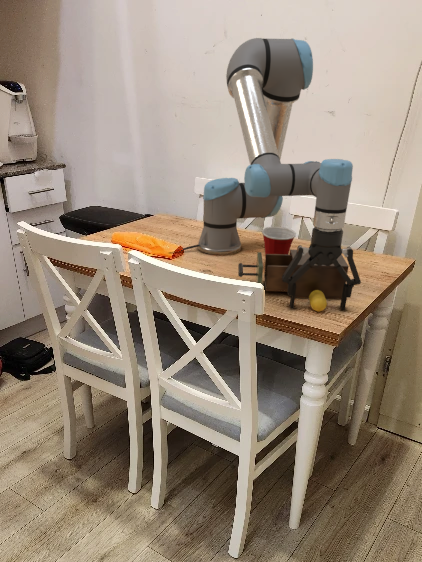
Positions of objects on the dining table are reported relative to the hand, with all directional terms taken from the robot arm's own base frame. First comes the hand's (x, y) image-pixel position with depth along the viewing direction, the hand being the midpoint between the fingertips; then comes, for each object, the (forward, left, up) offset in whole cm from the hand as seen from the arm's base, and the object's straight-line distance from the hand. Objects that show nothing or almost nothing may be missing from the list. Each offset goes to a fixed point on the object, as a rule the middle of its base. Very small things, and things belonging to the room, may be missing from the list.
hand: (317, 307), depth 131 cm
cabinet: (+1, +14, 0) cm, 14 cm away
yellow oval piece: (0, 0, 0) cm, 0 cm away
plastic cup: (-9, +31, 0) cm, 32 cm away
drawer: (-12, +14, +1) cm, 18 cm away
